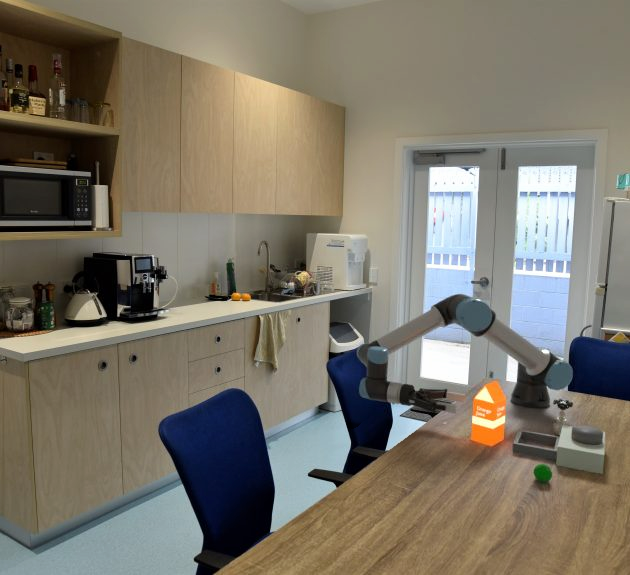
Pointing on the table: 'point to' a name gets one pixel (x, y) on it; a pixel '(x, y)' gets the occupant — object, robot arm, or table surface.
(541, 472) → the polyhedron
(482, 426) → the orange juice
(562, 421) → the valve
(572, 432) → the grey boxy fixture
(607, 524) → the table surface
